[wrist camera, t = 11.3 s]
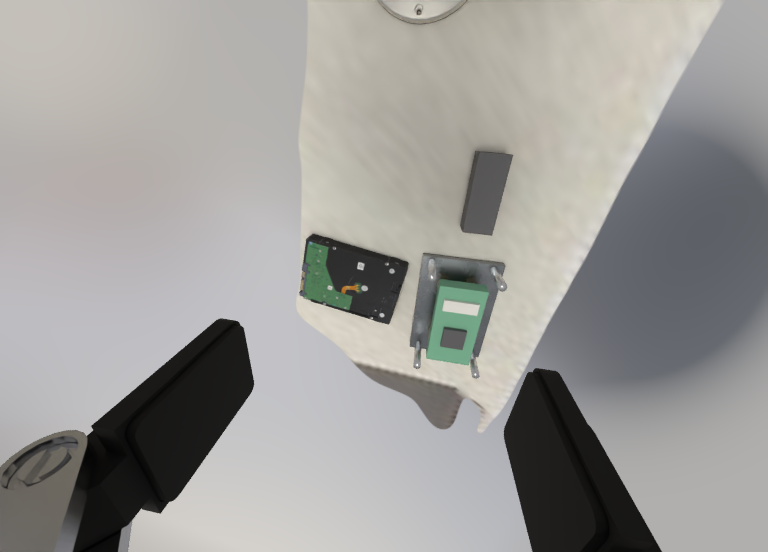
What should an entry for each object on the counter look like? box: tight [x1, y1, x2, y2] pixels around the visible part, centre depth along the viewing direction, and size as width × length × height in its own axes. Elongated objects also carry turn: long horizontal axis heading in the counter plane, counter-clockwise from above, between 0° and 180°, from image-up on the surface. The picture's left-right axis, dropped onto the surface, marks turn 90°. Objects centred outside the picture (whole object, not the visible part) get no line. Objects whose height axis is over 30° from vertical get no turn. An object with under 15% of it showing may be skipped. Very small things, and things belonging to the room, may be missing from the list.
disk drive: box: [299, 234, 408, 324], centre depth 42 cm, size 10×3×15 cm
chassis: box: [410, 253, 507, 378], centre depth 39 cm, size 16×11×6 cm
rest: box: [460, 151, 513, 236], centre depth 33 cm, size 9×4×3 cm, turn 175°
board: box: [426, 279, 489, 365], centre depth 38 cm, size 12×6×3 cm, turn 175°
